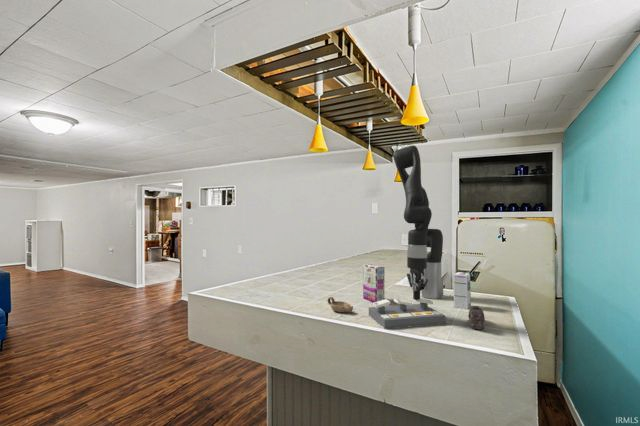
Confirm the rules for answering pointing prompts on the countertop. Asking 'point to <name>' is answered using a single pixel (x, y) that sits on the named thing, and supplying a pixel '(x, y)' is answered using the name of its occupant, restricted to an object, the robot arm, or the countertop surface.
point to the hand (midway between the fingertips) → (416, 299)
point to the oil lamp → (340, 306)
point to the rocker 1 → (381, 303)
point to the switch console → (406, 315)
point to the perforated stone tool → (476, 318)
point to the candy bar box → (373, 282)
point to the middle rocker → (402, 302)
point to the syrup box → (462, 290)
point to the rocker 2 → (424, 301)
